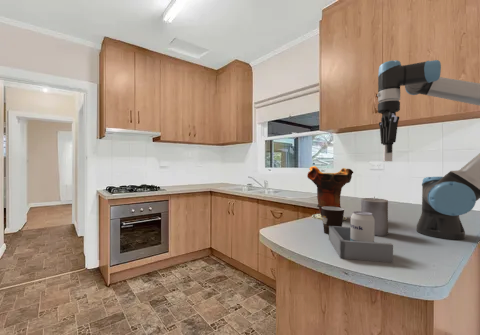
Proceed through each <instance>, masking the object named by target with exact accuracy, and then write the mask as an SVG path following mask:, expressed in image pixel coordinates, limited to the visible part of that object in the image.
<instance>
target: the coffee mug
mask: <svg viewBox="0 0 480 335" xmlns="http://www.w3.org/2000/svg"><path fill="white" fill-rule="evenodd" d="M344 214H345V208H343V207H341V208H339V207H322V210H321V215H322V218H323V220H322V225H323V232H324V234H325V235H329V226H340V227H343V221H344V220H343V216H345V215H344Z"/></svg>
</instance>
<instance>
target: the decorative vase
mask: <svg viewBox="0 0 480 335" xmlns="http://www.w3.org/2000/svg"><path fill="white" fill-rule="evenodd" d="M308 169H309V170H310V171H308V173H307V178H308V180H311V182H312V183H314V185H315V186H316V187H317V188H316V193H317V194H316V196H317V197H316V198H317V206H316V208H318V211H319V213H316V214H312V215H311V218H312V217H313V219H317V220H319V221H323V218H322V215H321V210H322V207H339V208H342V207H341V194H342V189H343V187H345V185H347V184H349V183H350V182H351V180H352V177H353V176H352V175H353V174H354V171H353V170H352V169H351V168H345V167H342V168H341V169H340V170H339V171H337V172H322V170H321V171H320V168H318V167H317V166H316V165H315V166H314V165H312V166H310V167H309V168H308ZM318 215H320V216H318ZM315 216H317V217H315ZM345 220H347V217H346V216H345V215H343V221H345Z"/></svg>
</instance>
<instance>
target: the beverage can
mask: <svg viewBox="0 0 480 335" xmlns="http://www.w3.org/2000/svg"><path fill="white" fill-rule="evenodd" d="M374 225H375V219H374V217H373V216H372V213H369V212H363V211H361V210H360V211H359V210H354V211H353V212H352V214H351V216H350V227H351V230H350V241H362V242H375V235H374Z"/></svg>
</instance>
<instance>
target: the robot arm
mask: <svg viewBox="0 0 480 335" xmlns="http://www.w3.org/2000/svg"><path fill="white" fill-rule="evenodd" d="M441 72H442V63H441V61H440V60H439V59H435V60H426V61H422V62H417V63H409V64H405V65H402V64H401V61H399V60H397V59H396V60H393V59H392V60H388V61H387V60H386V61H385V62H383V63H382V64H380V65H379V67H378V74H377V94H376V97H377V113H378V114H381V119H380V121H379V122H378V125H379V133H380V134H379V135H380V143H381V145H382V146H383V150H382V151H383V159H382V161H383V162H393V150H394V148H393V145H394V143H396V141H397V134H398V126H399V121H400V116H397V114H396V113H398V112H400V109H401V101H400V100H401V87H404V90H405V92H406V93H407V94H408V95H411V96H417V95H425V96H430V97H434V98H439V99H444V100H450V101H454V102H460V103H464V104H469V105H475V106H479V107H480V83H479V82H473V81H466V80H461V79H455V78H449V77H442V76H441ZM421 186H422V189H421V190H422V192H421V195H422V196H421V215H420V217H419V218H418V221H417V223H416V229H415V231H416V232H417V233H419V234H421V235H425V236H429V237H433V238H438V239H446V240H464V239H466V231H465V229H464V226H463V223H462V220H461V219H460V216H463V215H465V214H467V213H469V212H471V211H472V210H473V209H474V207H475V205H476V203H477V201H479V200H480V153H478V154H477V155H476V156H475V157H473V158H472V159H471V160H470V161H468V162H467V163H466V164H465V165H463V166H462V167H461V168H460V169H458V170H450V171H449V172H448V173H447V174H445V175H444V176H425V177H424V178H423V179H422V183H421Z"/></svg>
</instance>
